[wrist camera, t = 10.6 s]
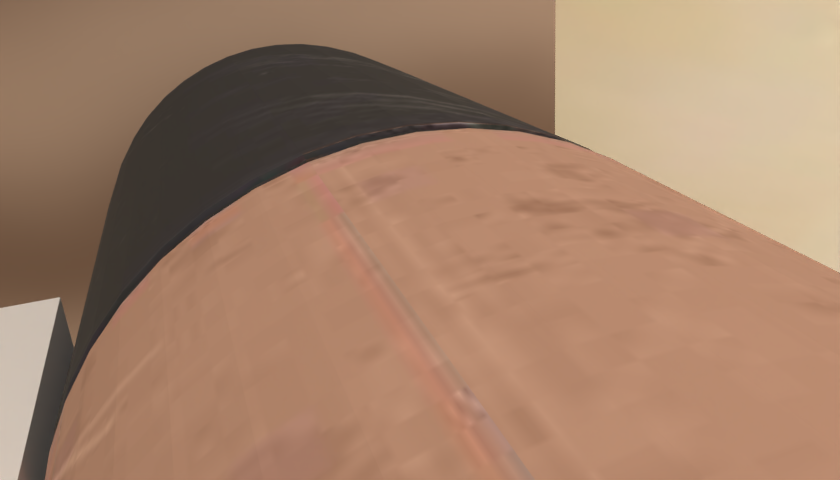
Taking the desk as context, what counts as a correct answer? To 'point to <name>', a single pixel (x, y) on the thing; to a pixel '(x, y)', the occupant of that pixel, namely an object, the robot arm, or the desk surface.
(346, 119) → the travel mug
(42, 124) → the walnut stand
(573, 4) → the desk surface
